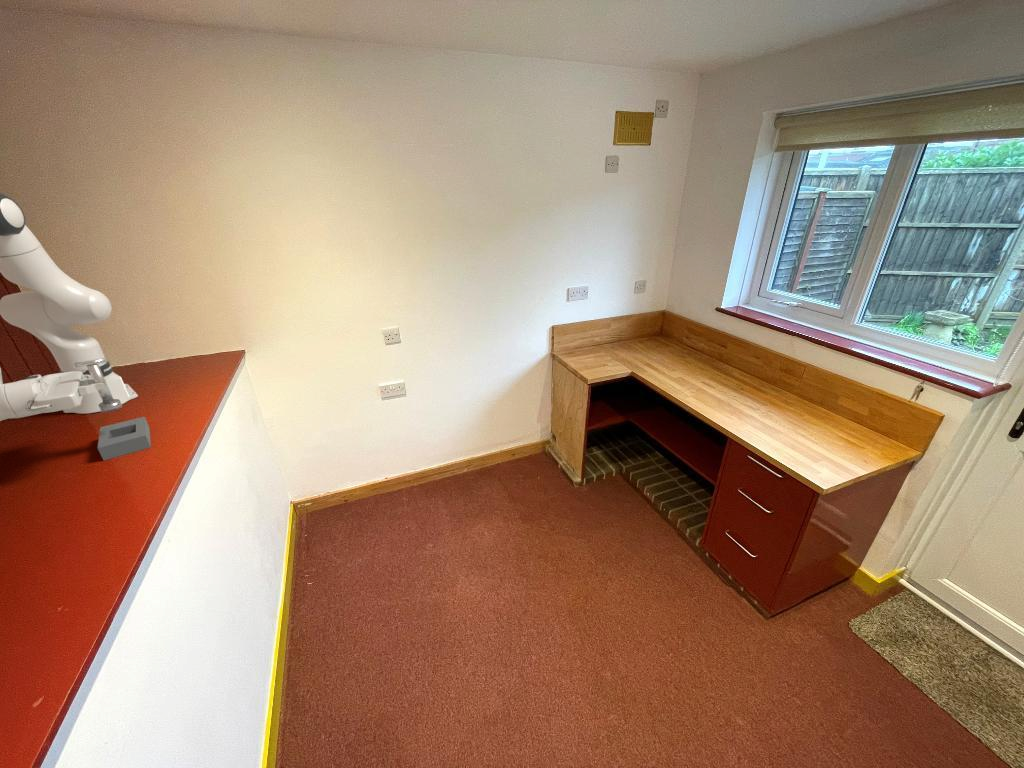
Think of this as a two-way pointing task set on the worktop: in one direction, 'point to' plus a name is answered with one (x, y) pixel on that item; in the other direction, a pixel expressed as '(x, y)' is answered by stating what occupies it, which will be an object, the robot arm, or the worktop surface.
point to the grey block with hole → (124, 438)
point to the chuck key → (97, 376)
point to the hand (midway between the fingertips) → (105, 382)
